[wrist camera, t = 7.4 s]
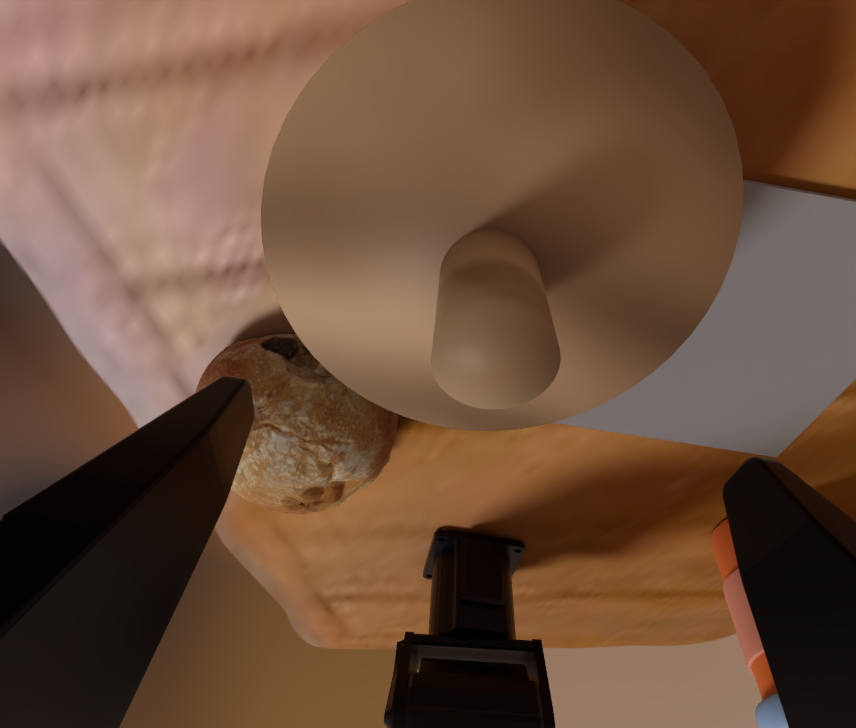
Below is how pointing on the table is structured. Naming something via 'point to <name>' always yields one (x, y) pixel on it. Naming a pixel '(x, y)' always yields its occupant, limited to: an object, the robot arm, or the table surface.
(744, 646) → the cup with straw
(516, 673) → the robot arm
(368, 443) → the bread roll
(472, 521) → the table surface
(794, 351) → the mat
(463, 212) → the lid
